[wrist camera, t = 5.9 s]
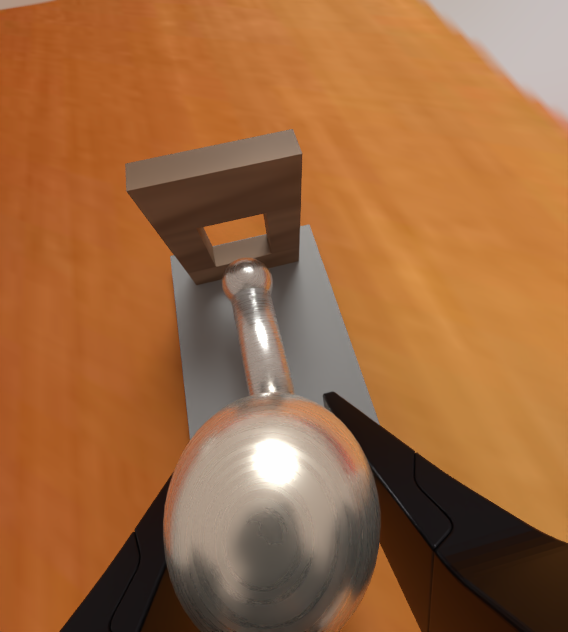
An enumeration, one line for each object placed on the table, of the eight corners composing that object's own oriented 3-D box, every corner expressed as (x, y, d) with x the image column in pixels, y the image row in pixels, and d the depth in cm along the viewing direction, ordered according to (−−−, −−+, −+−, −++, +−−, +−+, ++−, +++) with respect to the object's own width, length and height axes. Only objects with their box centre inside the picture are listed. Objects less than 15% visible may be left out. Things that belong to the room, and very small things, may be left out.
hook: (334, 478, 12) (487, 715, 2) (257, 499, 12) (106, 845, 2) (278, 273, 16) (253, 59, 6) (219, 287, 16) (104, 88, 6)
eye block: (299, 261, 18) (302, 153, 11) (196, 285, 17) (126, 191, 10) (293, 243, 18) (292, 129, 11) (193, 266, 18) (125, 163, 11)
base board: (389, 469, 14) (397, 474, 13) (207, 521, 14) (199, 530, 13) (308, 235, 20) (309, 224, 19) (177, 265, 19) (170, 256, 18)
